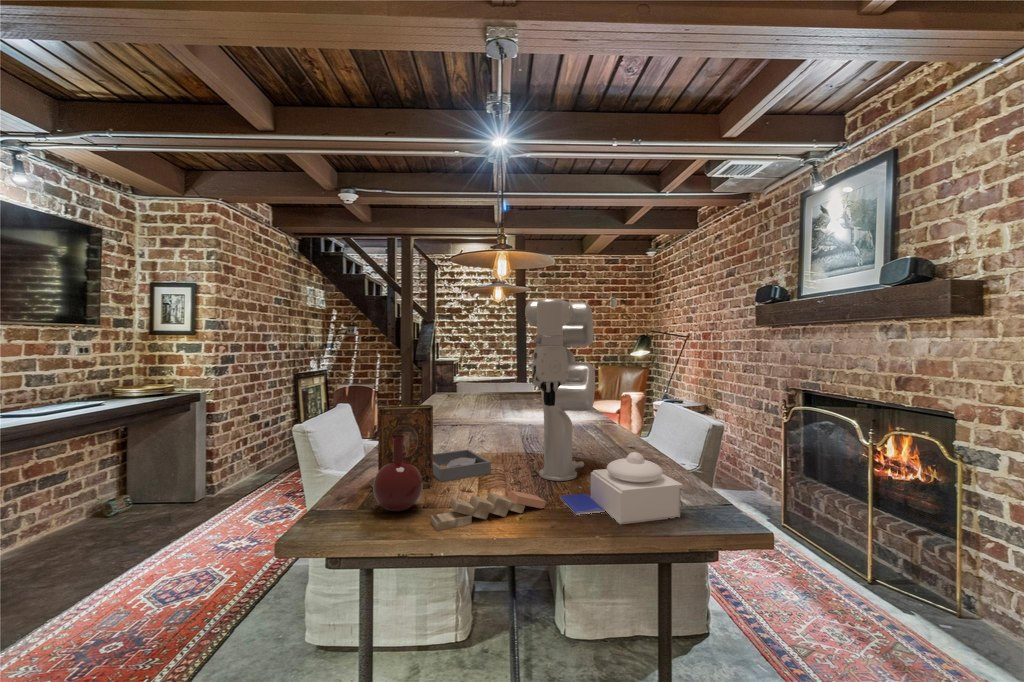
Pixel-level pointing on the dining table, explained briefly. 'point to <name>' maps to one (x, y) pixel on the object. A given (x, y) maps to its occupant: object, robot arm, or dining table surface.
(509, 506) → the domino
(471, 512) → the domino
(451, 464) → the stone block
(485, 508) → the domino
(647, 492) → the butter dish
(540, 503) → the domino
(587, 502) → the hard drive
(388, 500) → the round-bottom flask
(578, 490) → the dining table surface
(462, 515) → the domino
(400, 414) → the book
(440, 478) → the slate frame
